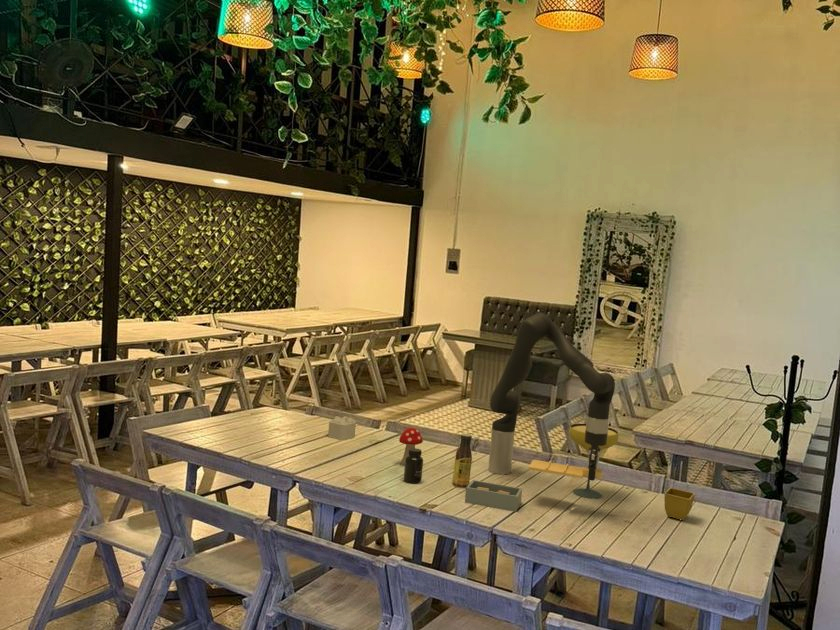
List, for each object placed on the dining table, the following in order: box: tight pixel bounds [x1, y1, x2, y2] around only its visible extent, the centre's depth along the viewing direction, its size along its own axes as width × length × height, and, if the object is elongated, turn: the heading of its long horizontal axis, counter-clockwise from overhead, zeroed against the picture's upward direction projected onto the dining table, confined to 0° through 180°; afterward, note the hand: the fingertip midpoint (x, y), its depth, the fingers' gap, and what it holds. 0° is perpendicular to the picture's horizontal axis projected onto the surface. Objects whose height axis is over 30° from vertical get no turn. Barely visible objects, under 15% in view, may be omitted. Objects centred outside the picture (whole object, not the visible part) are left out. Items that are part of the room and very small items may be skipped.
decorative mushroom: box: [398, 427, 424, 466], centre depth 295 cm, size 10×9×15 cm
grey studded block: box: [327, 415, 357, 441], centre depth 331 cm, size 10×13×9 cm
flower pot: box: [664, 487, 696, 521], centre depth 258 cm, size 9×9×9 cm
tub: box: [464, 479, 523, 513], centre depth 255 cm, size 10×18×6 cm, turn 73°
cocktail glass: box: [568, 423, 619, 499], centre depth 276 cm, size 18×18×25 cm
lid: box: [528, 459, 603, 480], centre depth 257 cm, size 11×25×2 cm, turn 72°
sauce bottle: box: [452, 433, 473, 489], centre depth 271 cm, size 6×6×20 cm
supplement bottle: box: [403, 447, 424, 484], centre depth 274 cm, size 7×7×12 cm
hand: (591, 478), depth 254 cm, fingers closed on lid, 3 cm apart
